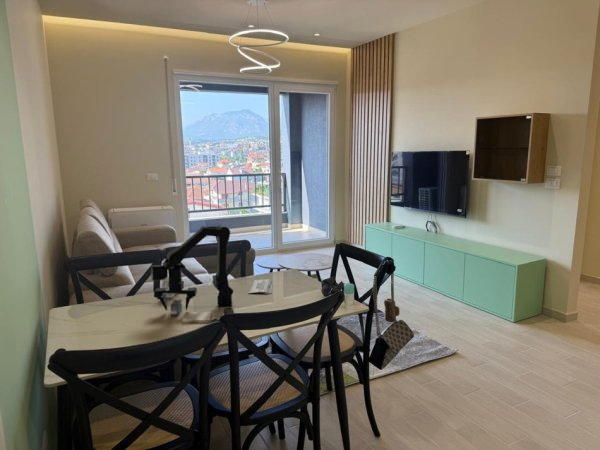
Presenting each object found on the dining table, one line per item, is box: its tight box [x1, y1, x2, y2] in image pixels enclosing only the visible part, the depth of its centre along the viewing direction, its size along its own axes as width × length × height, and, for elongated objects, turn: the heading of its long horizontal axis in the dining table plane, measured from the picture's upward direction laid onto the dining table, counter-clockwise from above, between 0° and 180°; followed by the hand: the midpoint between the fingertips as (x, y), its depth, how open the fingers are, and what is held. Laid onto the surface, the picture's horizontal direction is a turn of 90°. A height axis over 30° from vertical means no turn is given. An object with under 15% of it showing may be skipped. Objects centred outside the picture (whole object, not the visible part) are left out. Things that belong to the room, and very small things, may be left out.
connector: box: [170, 298, 183, 318], centre depth 195 cm, size 4×12×5 cm, turn 5°
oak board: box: [181, 311, 213, 324], centre depth 189 cm, size 12×10×1 cm
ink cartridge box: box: [161, 273, 177, 299], centre depth 219 cm, size 9×5×15 cm, turn 168°
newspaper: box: [248, 279, 273, 295], centre depth 234 cm, size 23×12×2 cm, turn 179°
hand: (176, 309), depth 196 cm, fingers open, 9 cm apart
